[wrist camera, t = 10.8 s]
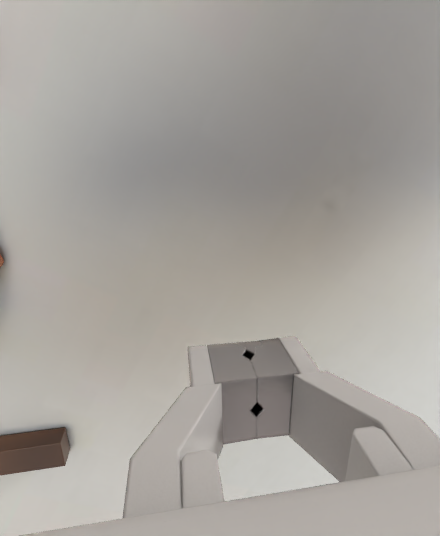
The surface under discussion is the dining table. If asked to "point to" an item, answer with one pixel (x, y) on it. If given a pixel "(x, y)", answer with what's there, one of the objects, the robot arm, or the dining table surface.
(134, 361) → the dining table surface
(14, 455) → the frame
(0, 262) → the broken brown mug
